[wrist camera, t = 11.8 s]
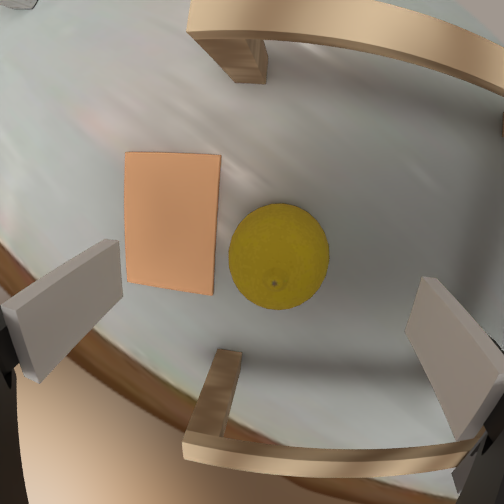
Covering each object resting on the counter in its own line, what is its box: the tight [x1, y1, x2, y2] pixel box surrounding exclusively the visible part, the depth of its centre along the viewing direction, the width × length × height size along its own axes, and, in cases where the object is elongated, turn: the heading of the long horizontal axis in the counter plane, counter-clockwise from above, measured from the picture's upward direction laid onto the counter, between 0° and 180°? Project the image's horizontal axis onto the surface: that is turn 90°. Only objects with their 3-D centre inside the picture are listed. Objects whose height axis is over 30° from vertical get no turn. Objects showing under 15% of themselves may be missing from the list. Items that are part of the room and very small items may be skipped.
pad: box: [124, 152, 221, 296], centre depth 22 cm, size 7×10×1 cm
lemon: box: [229, 204, 329, 310], centre depth 18 cm, size 6×6×8 cm
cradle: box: [182, 0, 504, 478], centre depth 16 cm, size 22×24×10 cm
